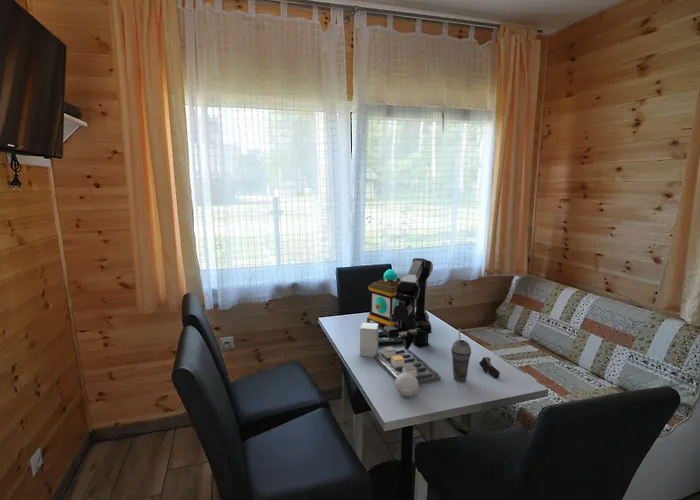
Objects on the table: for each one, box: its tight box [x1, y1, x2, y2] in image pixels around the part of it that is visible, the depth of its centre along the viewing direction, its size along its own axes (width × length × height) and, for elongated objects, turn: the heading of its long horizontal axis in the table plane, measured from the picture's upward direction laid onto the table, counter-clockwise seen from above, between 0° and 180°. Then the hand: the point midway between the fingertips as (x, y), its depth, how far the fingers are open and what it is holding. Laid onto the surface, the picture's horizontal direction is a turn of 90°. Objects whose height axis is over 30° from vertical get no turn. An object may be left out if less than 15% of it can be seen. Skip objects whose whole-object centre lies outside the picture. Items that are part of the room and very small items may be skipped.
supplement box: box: [359, 322, 379, 358], centre depth 160 cm, size 7×7×13 cm
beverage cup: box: [450, 328, 472, 383], centre depth 137 cm, size 7×7×20 cm
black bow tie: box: [478, 356, 500, 379], centre depth 143 cm, size 9×2×6 cm
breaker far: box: [382, 346, 397, 358], centre depth 153 cm, size 4×4×3 cm
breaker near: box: [402, 364, 417, 376], centre depth 138 cm, size 4×4×3 cm
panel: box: [374, 348, 441, 385], centre depth 147 cm, size 16×25×2 cm, turn 21°
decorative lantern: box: [366, 268, 406, 327], centre depth 193 cm, size 20×20×30 cm
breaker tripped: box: [391, 355, 404, 368], centre depth 145 cm, size 4×4×3 cm
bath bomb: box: [394, 372, 419, 398], centre depth 128 cm, size 8×8×8 cm
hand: (406, 349), depth 146 cm, fingers closed
